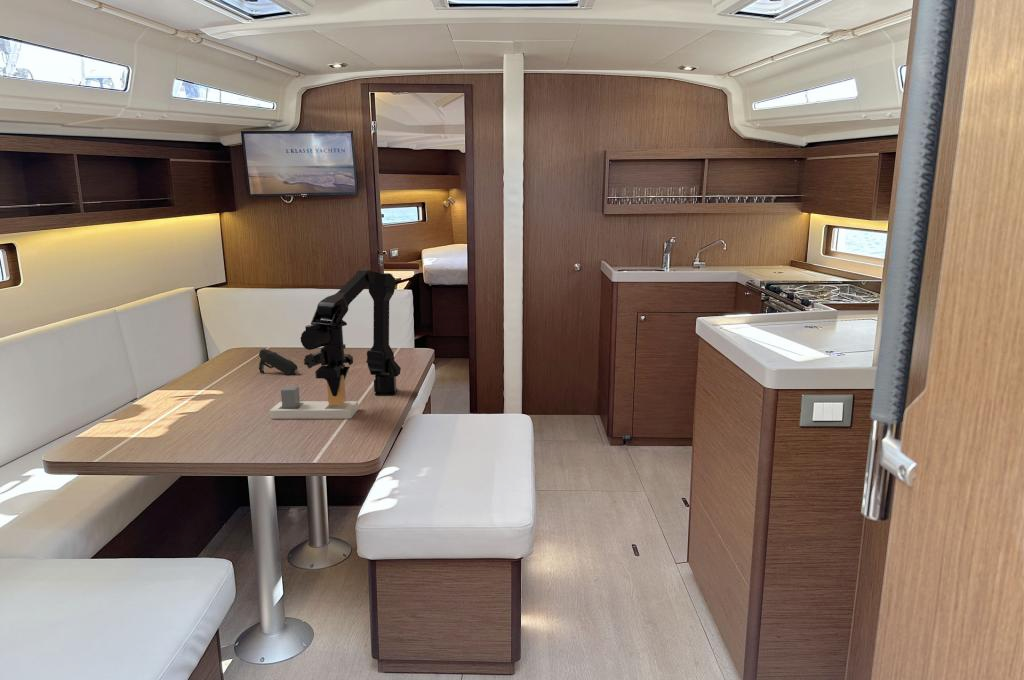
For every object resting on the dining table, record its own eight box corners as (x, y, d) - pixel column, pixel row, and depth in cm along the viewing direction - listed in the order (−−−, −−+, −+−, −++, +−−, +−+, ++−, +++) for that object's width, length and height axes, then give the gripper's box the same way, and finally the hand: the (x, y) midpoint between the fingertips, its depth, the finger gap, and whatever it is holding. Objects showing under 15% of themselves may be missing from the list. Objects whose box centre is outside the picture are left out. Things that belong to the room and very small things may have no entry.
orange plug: (345, 400, 208) (343, 375, 206) (342, 404, 204) (340, 378, 202) (332, 401, 208) (330, 375, 206) (328, 404, 204) (326, 378, 203)
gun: (289, 390, 253) (298, 367, 250) (251, 369, 254) (261, 346, 251) (293, 388, 255) (302, 365, 253) (256, 367, 257) (265, 344, 254)
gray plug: (300, 411, 209) (298, 386, 207) (296, 415, 205) (294, 390, 204) (287, 411, 209) (285, 386, 208) (283, 416, 205) (280, 390, 204)
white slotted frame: (358, 409, 211) (357, 401, 210) (350, 418, 202) (350, 410, 202) (280, 409, 212) (280, 401, 211) (269, 418, 203) (269, 410, 202)
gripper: (315, 336, 212) (319, 385, 215) (295, 350, 193) (299, 403, 197) (351, 336, 211) (355, 385, 215) (334, 349, 193) (338, 403, 196)
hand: (336, 393), depth 206 cm, fingers closed on orange plug, 4 cm apart
